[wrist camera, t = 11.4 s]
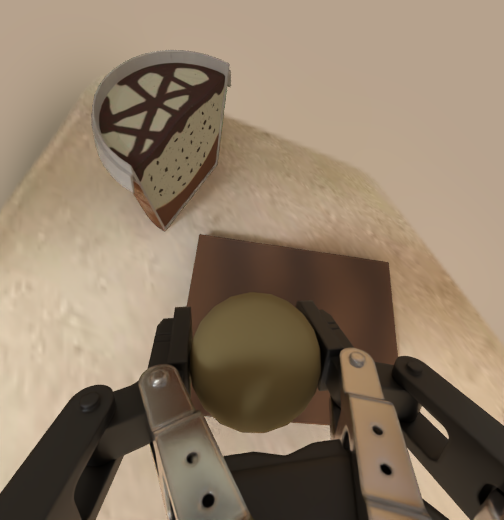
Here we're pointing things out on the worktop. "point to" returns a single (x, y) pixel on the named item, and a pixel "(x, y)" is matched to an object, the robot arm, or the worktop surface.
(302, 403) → the cork
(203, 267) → the cutting board
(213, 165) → the food container
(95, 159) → the worktop surface
